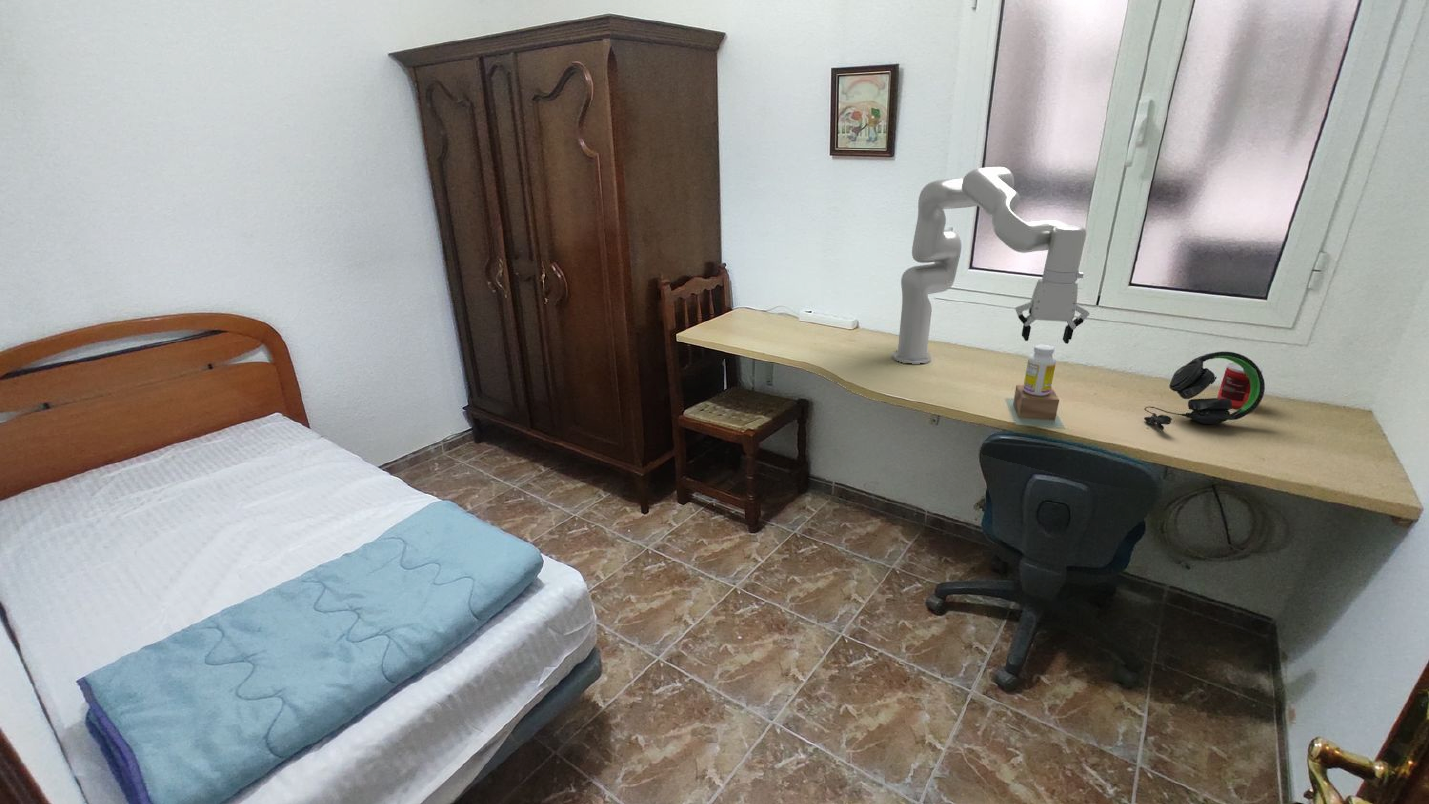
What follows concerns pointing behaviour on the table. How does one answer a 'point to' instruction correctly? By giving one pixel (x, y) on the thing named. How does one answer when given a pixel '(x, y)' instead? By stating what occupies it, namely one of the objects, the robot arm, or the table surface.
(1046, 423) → the felt pad
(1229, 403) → the headset
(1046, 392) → the supplement bottle
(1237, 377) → the canned food
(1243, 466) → the table surface
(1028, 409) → the walnut block
